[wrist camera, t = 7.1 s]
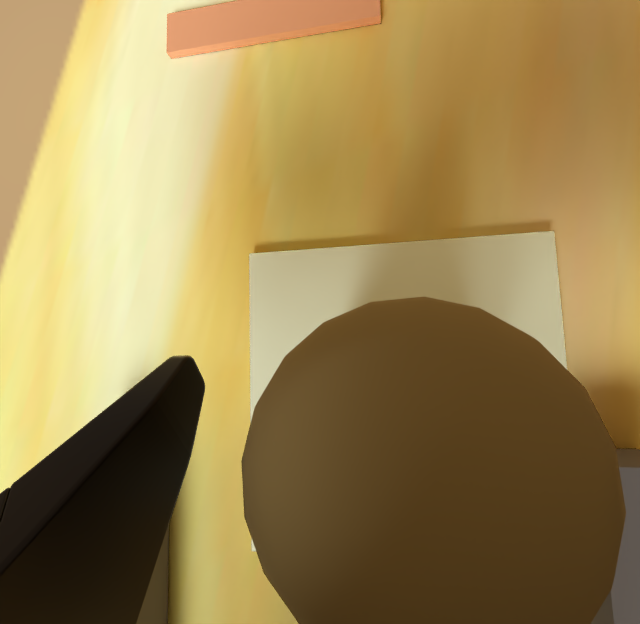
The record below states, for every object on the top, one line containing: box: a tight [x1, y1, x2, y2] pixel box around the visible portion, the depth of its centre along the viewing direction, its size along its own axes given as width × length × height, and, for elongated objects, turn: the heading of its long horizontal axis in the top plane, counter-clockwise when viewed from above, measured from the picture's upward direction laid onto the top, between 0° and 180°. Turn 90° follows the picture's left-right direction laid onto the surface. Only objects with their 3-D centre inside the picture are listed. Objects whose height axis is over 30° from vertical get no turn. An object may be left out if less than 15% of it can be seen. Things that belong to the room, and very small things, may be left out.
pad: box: [249, 231, 567, 551], centre depth 15 cm, size 12×12×1 cm
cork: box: [242, 297, 626, 624], centre depth 10 cm, size 6×6×11 cm
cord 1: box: [591, 449, 640, 624], centre depth 12 cm, size 10×2×2 cm, turn 2°
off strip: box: [167, 0, 381, 59], centre depth 18 cm, size 2×10×1 cm, turn 92°
